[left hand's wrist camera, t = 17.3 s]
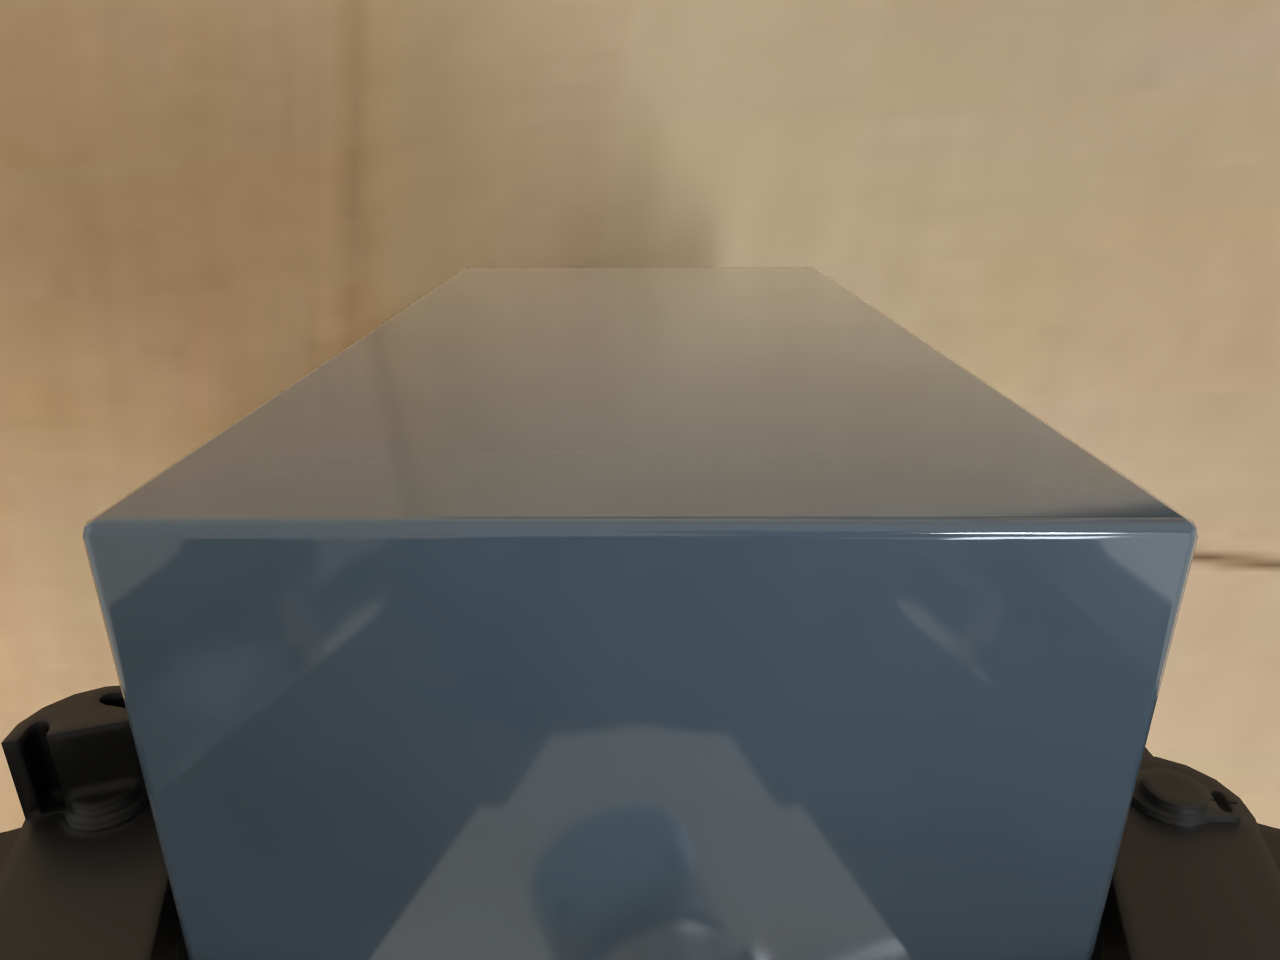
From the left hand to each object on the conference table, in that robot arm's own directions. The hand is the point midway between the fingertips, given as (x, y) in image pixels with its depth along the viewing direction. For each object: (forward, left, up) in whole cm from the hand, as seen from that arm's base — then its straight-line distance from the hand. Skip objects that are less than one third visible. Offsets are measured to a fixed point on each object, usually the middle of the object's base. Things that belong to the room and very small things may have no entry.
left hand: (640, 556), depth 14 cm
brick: (0, 0, -3) cm, 3 cm away
